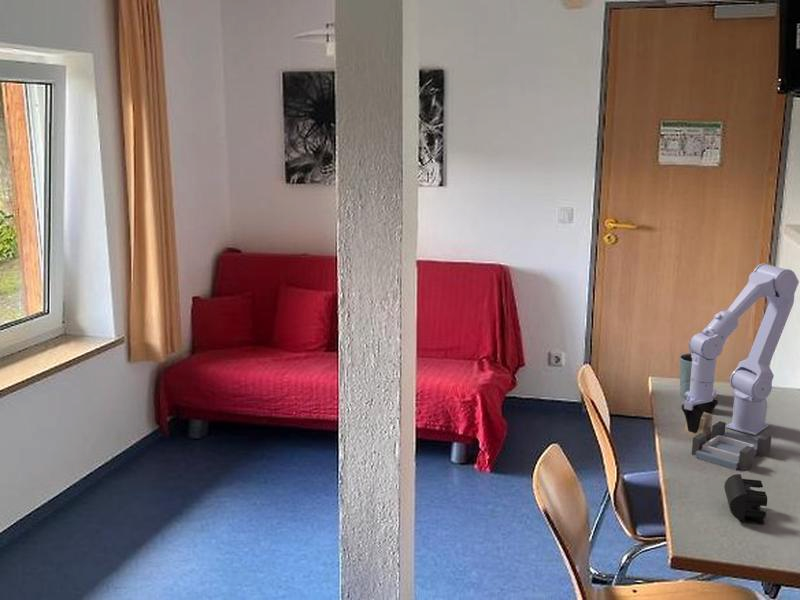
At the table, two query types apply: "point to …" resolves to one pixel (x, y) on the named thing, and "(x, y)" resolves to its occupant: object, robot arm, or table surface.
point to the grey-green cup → (685, 374)
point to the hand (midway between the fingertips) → (697, 428)
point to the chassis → (729, 447)
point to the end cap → (745, 499)
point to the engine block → (701, 425)
